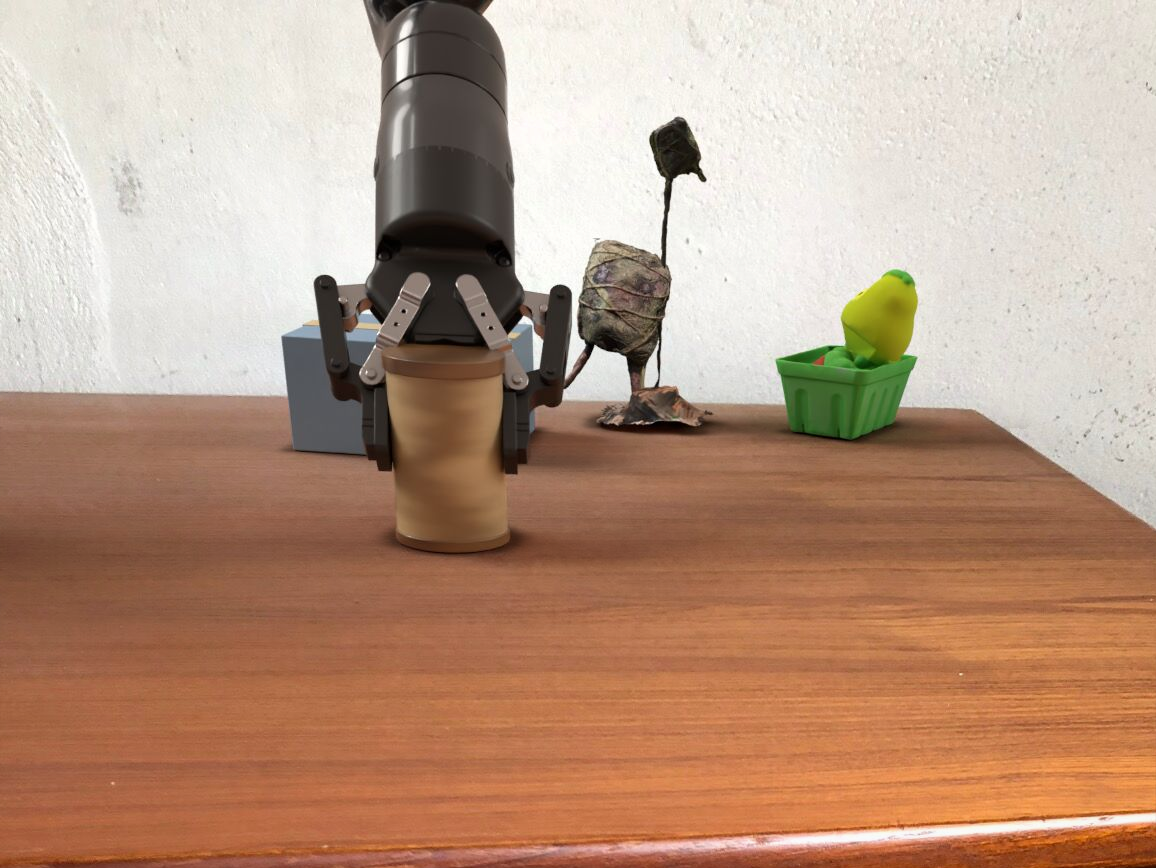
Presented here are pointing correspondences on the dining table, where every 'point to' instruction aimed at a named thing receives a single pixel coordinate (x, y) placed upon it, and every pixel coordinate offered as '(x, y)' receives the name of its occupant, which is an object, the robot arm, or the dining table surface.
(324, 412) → the blue box
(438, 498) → the tan lidded canister
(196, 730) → the dining table surface
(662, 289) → the brown bird sculpture
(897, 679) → the dining table surface
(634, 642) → the dining table surface
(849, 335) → the fruit basket
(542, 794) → the dining table surface
